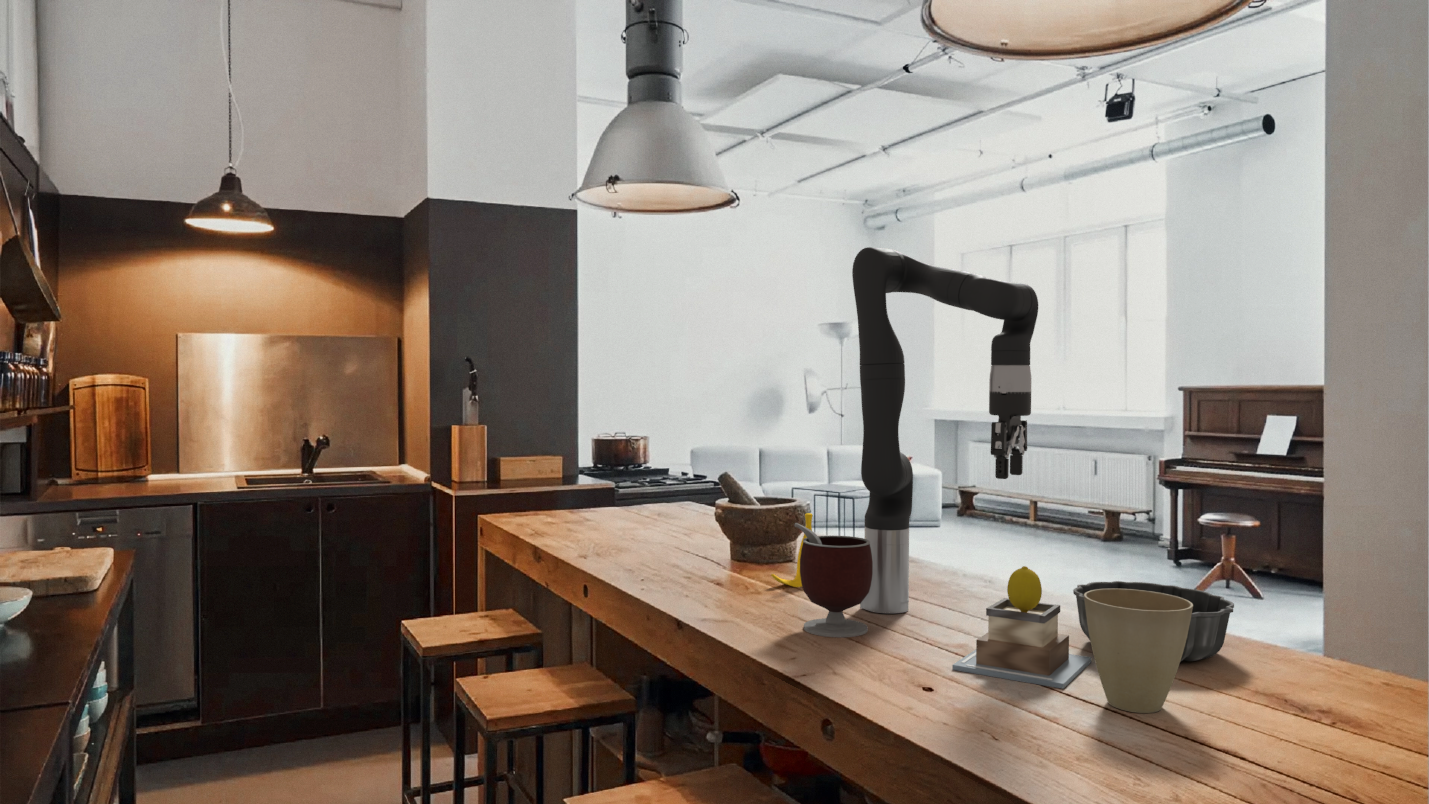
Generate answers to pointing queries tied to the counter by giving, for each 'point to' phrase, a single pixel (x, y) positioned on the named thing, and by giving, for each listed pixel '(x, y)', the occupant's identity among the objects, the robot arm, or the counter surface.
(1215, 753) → the counter surface
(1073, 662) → the board
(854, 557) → the mate gourd
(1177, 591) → the bundt pan
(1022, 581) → the lemon
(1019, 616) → the block tower
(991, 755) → the counter surface
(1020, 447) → the robot arm
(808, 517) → the banana peel
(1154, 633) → the plant pot
